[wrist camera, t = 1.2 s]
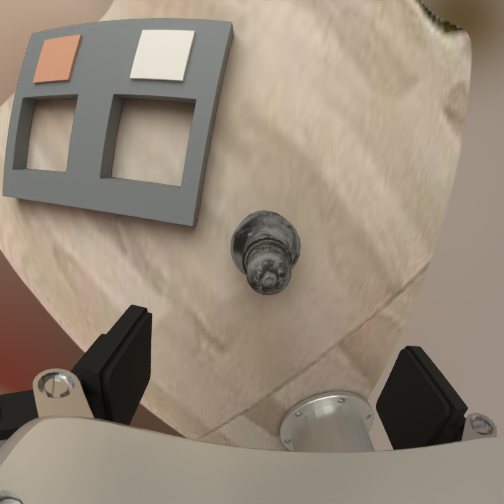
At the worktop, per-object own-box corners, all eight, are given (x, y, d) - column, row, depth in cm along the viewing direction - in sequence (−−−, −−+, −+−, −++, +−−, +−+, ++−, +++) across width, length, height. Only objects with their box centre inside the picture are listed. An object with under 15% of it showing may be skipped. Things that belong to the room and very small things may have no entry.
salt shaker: (302, 257, 30) (328, 313, 19) (244, 275, 31) (237, 338, 19) (285, 199, 29) (305, 222, 17) (225, 218, 30) (205, 252, 18)
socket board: (197, 221, 30) (191, 227, 27) (15, 193, 29) (0, 196, 26) (233, 32, 25) (231, 20, 22) (43, 38, 24) (30, 32, 21)
